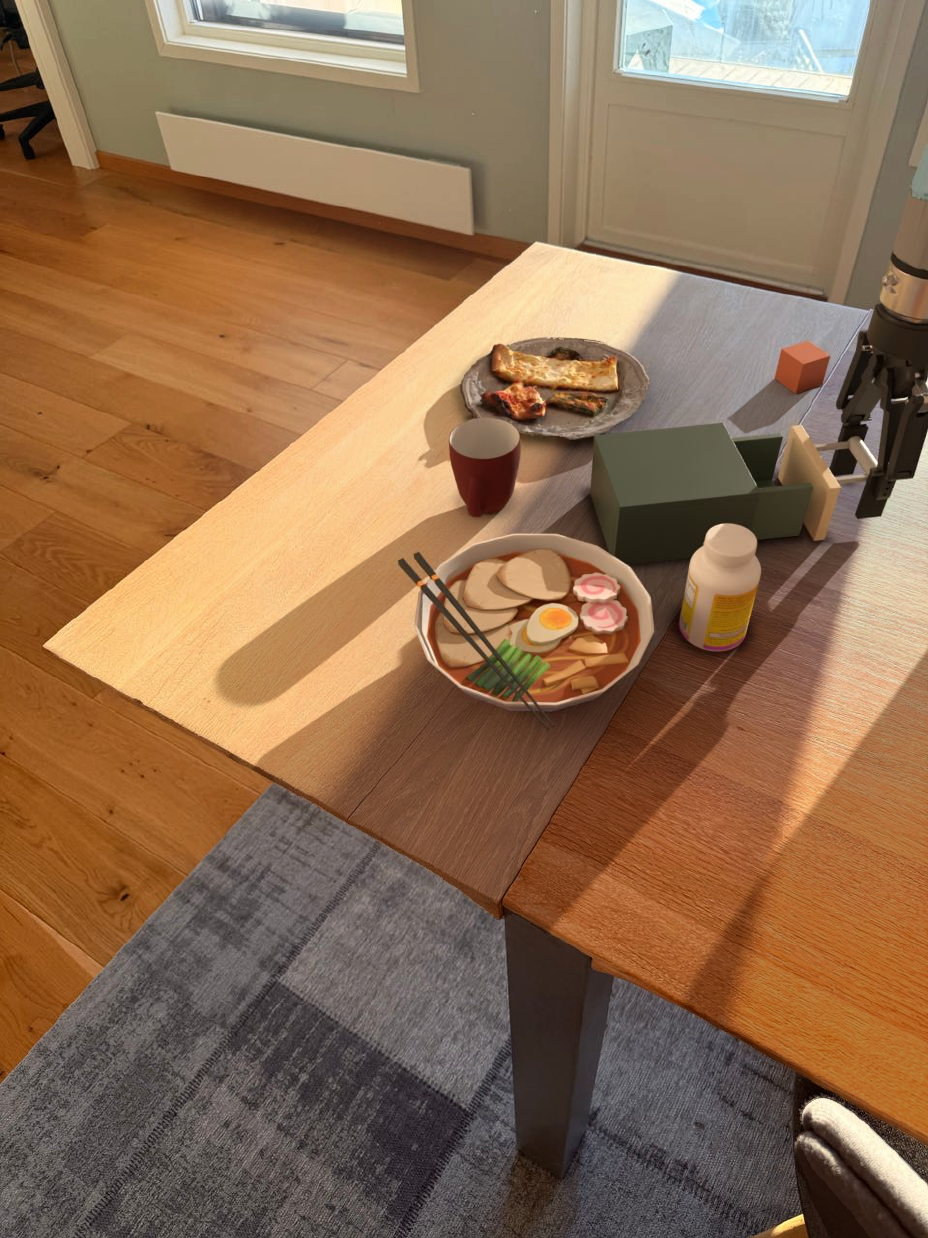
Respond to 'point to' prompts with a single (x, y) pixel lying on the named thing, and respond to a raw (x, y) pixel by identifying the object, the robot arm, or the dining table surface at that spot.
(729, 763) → the dining table surface
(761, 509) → the drawer
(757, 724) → the dining table surface
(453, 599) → the ramen bowl
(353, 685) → the dining table surface
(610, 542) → the cabinet
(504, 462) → the mug
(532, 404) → the food plate
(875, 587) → the dining table surface
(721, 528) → the supplement bottle
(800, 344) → the block
